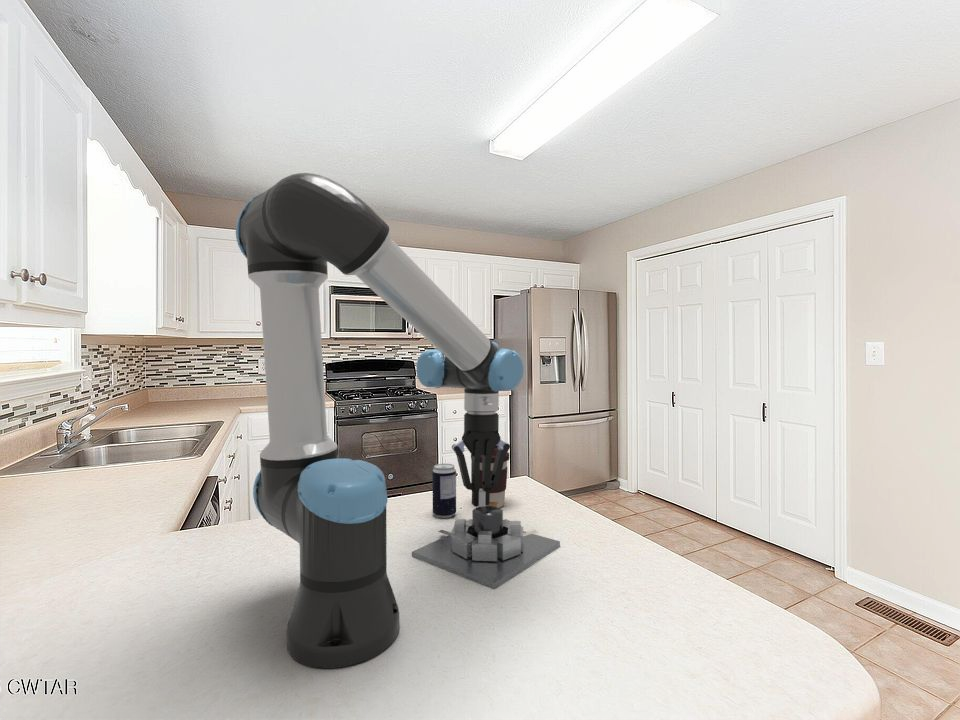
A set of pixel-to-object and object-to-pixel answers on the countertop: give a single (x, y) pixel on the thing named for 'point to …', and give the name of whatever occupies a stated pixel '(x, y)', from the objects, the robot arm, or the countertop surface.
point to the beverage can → (444, 490)
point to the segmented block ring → (487, 540)
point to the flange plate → (486, 570)
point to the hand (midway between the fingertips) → (480, 520)
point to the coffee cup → (499, 492)
